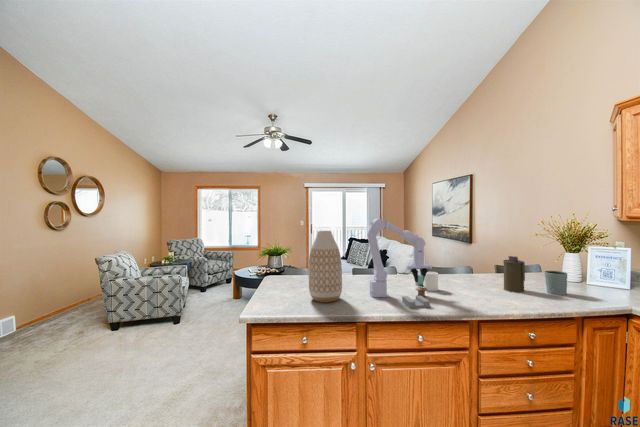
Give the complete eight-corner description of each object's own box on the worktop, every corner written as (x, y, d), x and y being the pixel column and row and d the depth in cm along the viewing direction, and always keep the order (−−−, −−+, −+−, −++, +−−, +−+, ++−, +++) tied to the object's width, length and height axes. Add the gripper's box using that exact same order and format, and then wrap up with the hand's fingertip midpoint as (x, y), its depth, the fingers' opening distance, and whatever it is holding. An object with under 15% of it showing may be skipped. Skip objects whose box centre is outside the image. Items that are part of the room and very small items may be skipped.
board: (409, 308, 143) (409, 302, 143) (402, 302, 153) (402, 296, 153) (429, 307, 144) (429, 301, 144) (421, 301, 154) (421, 295, 154)
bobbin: (418, 299, 157) (418, 290, 157) (414, 296, 163) (413, 287, 163) (429, 299, 157) (428, 289, 157) (424, 295, 163) (424, 287, 163)
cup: (440, 291, 172) (440, 274, 172) (420, 291, 172) (419, 274, 172) (435, 287, 180) (434, 271, 180) (415, 287, 180) (415, 271, 180)
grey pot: (568, 296, 157) (568, 274, 157) (544, 294, 163) (544, 272, 163) (567, 292, 165) (566, 271, 165) (544, 289, 171) (544, 269, 171)
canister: (499, 289, 174) (499, 256, 174) (510, 287, 178) (509, 254, 178) (518, 293, 164) (517, 258, 164) (529, 291, 168) (528, 257, 168)
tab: (420, 288, 160) (420, 277, 160) (415, 284, 167) (415, 274, 167) (425, 287, 160) (425, 277, 160) (420, 284, 167) (420, 274, 167)
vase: (340, 305, 149) (338, 232, 149) (305, 303, 153) (304, 232, 153) (344, 295, 167) (343, 229, 167) (313, 294, 171) (312, 230, 171)
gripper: (409, 259, 161) (409, 284, 161) (434, 258, 162) (434, 282, 162) (404, 257, 168) (405, 281, 168) (428, 256, 169) (429, 280, 169)
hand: (419, 281), depth 165 cm, fingers closed on tab, 3 cm apart
